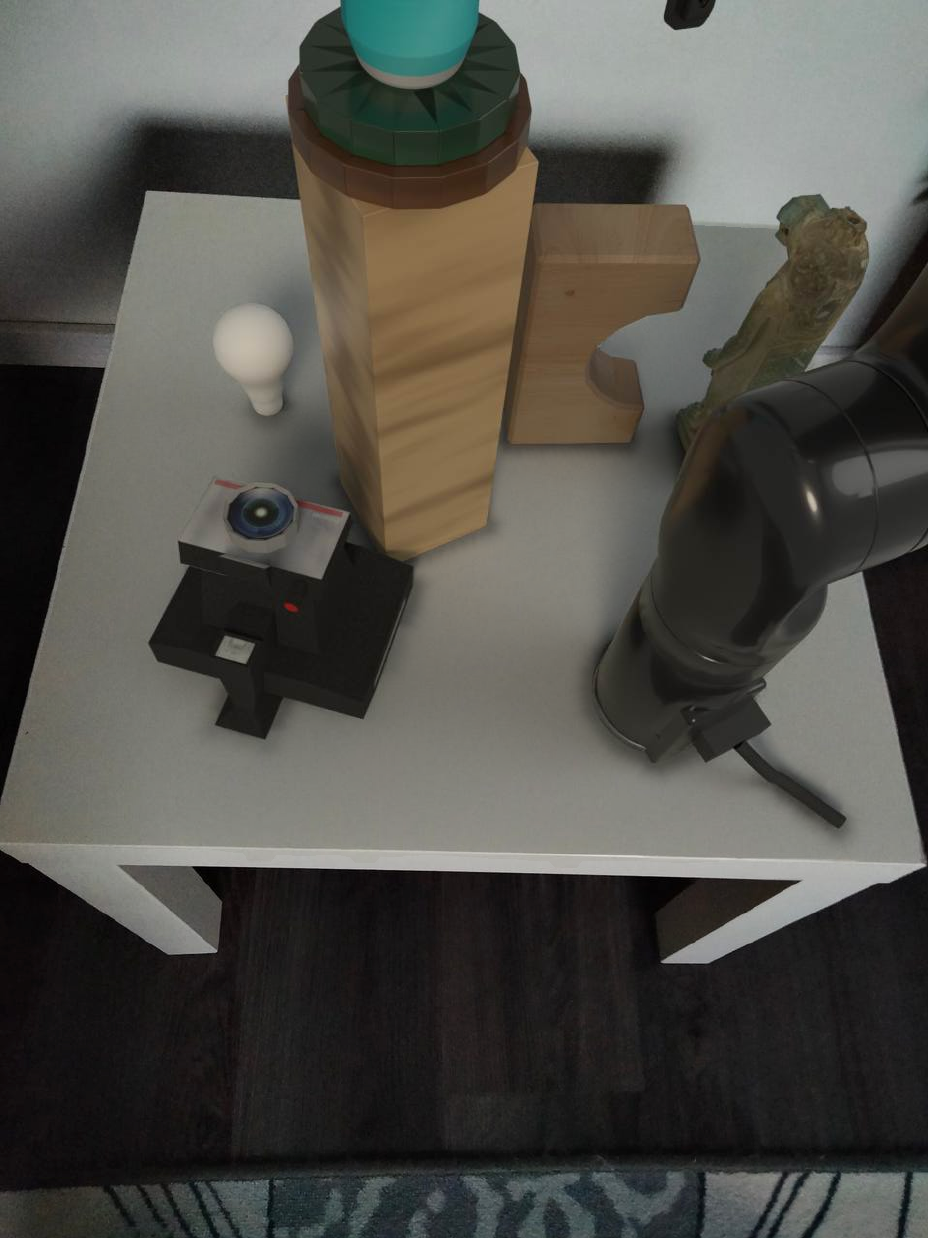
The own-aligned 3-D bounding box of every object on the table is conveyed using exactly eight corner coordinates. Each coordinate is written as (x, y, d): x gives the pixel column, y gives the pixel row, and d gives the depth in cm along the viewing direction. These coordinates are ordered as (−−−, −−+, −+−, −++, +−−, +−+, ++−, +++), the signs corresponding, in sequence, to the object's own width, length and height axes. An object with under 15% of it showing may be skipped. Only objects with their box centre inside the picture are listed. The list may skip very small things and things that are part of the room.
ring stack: (503, 531, 69) (580, 101, 36) (380, 583, 66) (345, 171, 34) (442, 432, 73) (463, -37, 40) (324, 477, 70) (244, 16, 37)
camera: (417, 476, 55) (341, 674, 47) (412, 592, 67) (351, 764, 60) (188, 416, 56) (78, 601, 48) (225, 542, 68) (142, 704, 61)
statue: (727, 403, 76) (860, 144, 53) (766, 478, 72) (926, 237, 50) (657, 417, 74) (762, 160, 52) (693, 495, 71) (823, 256, 49)
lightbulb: (284, 372, 74) (264, 274, 65) (317, 420, 72) (301, 326, 62) (221, 399, 73) (190, 303, 63) (253, 449, 71) (226, 358, 61)
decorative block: (625, 394, 75) (691, 200, 57) (632, 447, 73) (703, 261, 55) (502, 393, 75) (530, 197, 57) (505, 446, 72) (535, 258, 54)
